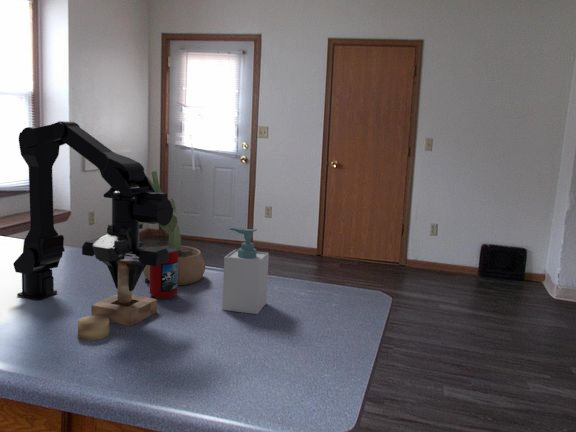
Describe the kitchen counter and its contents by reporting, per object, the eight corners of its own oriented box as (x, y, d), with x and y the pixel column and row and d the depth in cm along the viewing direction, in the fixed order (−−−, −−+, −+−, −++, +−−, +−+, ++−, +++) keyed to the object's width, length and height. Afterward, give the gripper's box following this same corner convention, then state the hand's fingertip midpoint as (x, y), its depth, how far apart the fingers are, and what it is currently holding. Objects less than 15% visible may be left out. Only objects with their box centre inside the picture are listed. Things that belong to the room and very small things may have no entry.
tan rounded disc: (71, 337, 111) (70, 322, 110) (90, 327, 117) (90, 313, 116) (96, 342, 109) (96, 328, 109) (115, 332, 115) (115, 318, 114)
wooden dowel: (114, 301, 123) (114, 261, 121) (122, 297, 126) (123, 258, 124) (126, 303, 122) (126, 263, 120) (134, 299, 125) (134, 260, 123)
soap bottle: (232, 299, 140) (235, 223, 136) (266, 303, 138) (270, 227, 135) (221, 310, 131) (224, 230, 128) (257, 314, 130) (261, 233, 126)
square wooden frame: (91, 318, 121) (91, 305, 121) (119, 305, 131) (119, 292, 130) (130, 326, 118) (131, 312, 118) (156, 311, 127) (157, 299, 127)
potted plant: (174, 266, 167) (177, 165, 162) (217, 279, 156) (221, 171, 151) (109, 280, 149) (109, 167, 144) (152, 296, 138) (154, 175, 133)
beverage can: (170, 301, 135) (171, 252, 133) (144, 297, 137) (145, 250, 135) (181, 293, 142) (182, 247, 140) (156, 290, 143) (157, 244, 141)
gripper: (64, 220, 116) (64, 293, 119) (141, 231, 110) (140, 307, 113) (98, 213, 127) (98, 280, 129) (171, 222, 121) (169, 292, 123)
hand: (124, 289), depth 123 cm, fingers closed on wooden dowel, 3 cm apart
